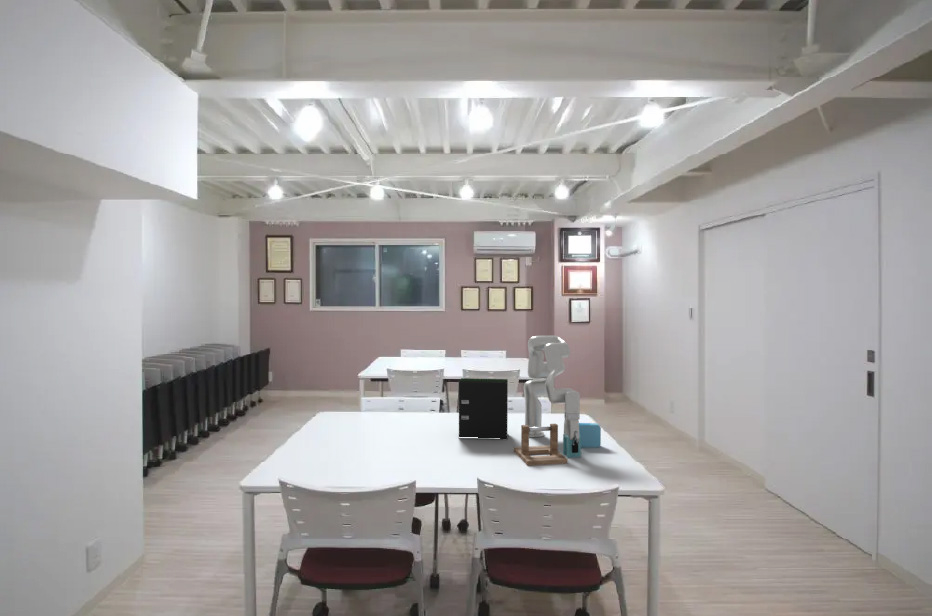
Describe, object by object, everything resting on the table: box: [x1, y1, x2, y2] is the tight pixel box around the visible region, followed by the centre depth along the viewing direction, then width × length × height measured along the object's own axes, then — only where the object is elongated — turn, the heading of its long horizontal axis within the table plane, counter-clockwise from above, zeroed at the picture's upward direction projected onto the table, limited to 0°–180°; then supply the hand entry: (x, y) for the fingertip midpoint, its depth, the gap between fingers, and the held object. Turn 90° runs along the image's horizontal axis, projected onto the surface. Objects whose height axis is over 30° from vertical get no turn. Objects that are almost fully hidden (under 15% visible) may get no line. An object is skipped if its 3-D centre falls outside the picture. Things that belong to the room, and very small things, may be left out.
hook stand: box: [513, 423, 568, 466], centre depth 267 cm, size 24×20×16 cm
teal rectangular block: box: [562, 433, 582, 458], centre depth 270 cm, size 6×7×10 cm
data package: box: [579, 422, 602, 448], centre depth 287 cm, size 12×4×12 cm, turn 87°
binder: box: [458, 377, 509, 440], centre depth 307 cm, size 27×15×32 cm, turn 85°
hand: (571, 450), depth 270 cm, fingers open, 8 cm apart
